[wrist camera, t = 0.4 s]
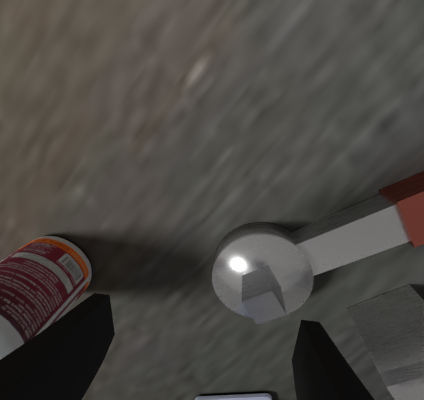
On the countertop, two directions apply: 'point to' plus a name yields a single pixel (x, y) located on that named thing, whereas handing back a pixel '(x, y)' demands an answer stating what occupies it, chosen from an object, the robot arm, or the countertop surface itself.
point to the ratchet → (312, 250)
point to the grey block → (395, 339)
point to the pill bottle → (39, 288)
